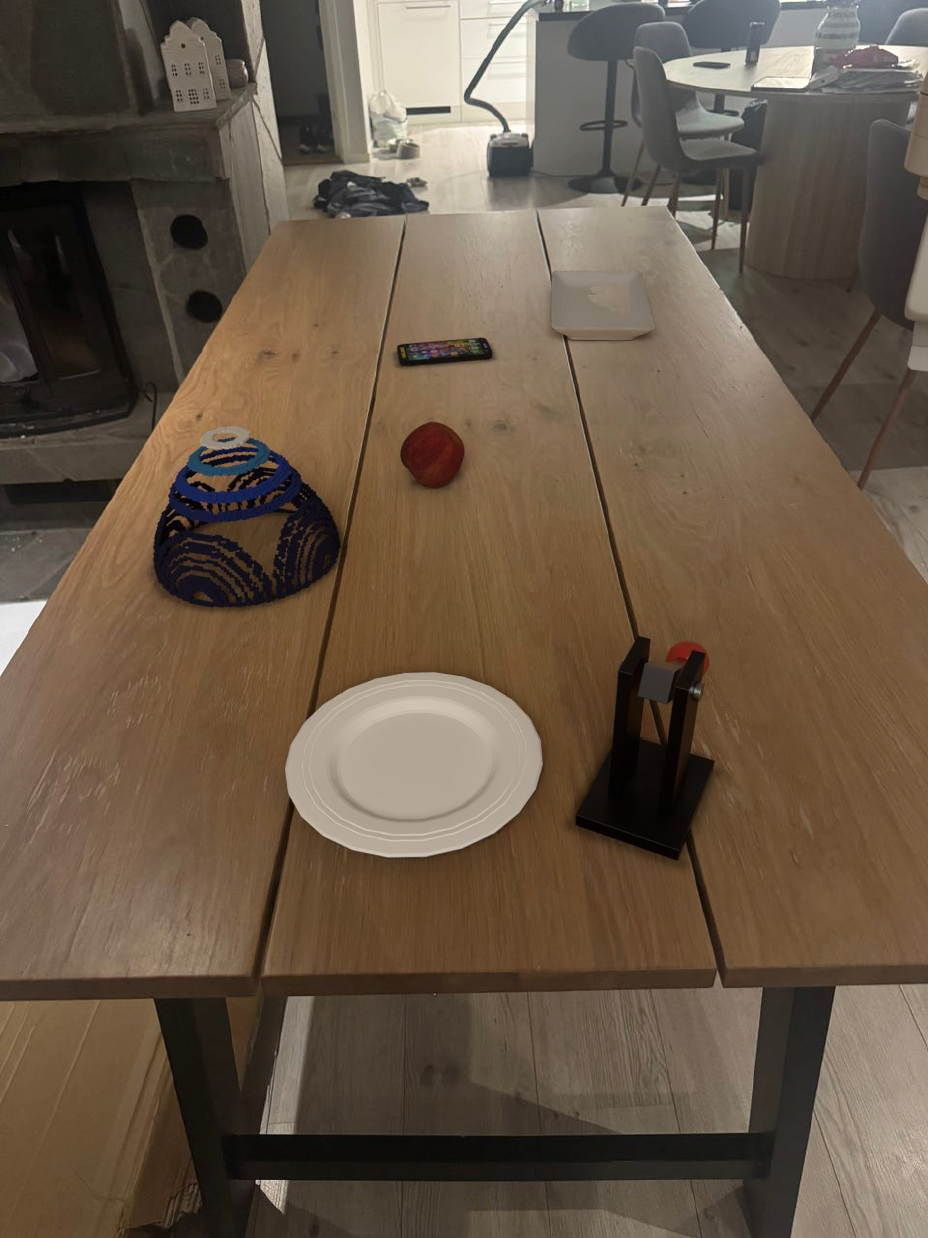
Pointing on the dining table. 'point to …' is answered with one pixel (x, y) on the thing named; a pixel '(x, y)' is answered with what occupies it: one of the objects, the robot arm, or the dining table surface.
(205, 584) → the decorative bowl
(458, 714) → the plate
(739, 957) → the dining table surface
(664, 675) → the lever
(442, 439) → the apple
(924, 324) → the robot arm
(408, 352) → the smartphone
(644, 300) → the tray
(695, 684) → the switch bracket
